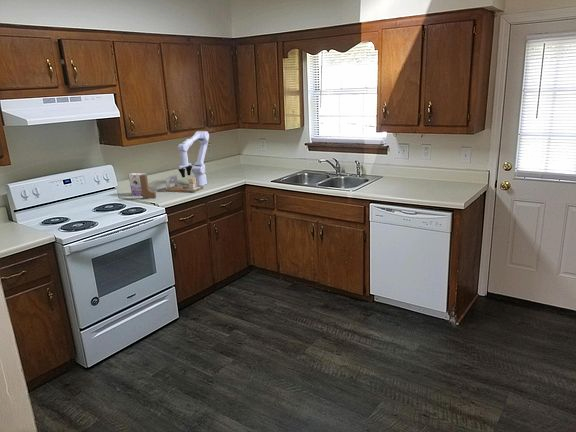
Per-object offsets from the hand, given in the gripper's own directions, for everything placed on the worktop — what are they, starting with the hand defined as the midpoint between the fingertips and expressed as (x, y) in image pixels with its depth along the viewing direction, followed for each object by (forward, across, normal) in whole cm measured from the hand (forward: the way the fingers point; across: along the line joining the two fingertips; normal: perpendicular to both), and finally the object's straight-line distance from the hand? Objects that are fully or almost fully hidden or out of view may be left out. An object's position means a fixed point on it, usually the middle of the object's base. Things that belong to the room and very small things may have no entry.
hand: (186, 176), depth 357 cm
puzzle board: (+10, +3, -2) cm, 11 cm away
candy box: (+11, +21, -30) cm, 38 cm away
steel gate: (+8, +3, -12) cm, 15 cm away
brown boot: (+11, +30, -14) cm, 35 cm away
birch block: (+9, +3, +7) cm, 11 cm away
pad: (+9, +3, +7) cm, 12 cm away
